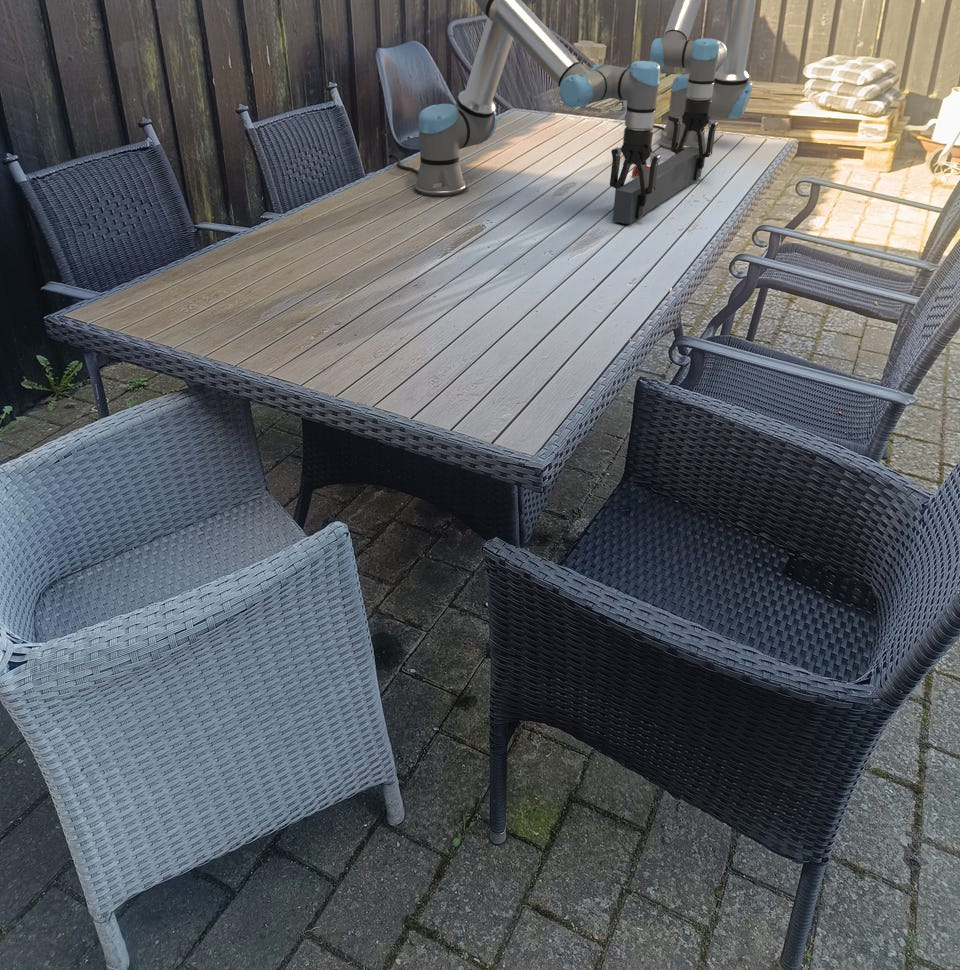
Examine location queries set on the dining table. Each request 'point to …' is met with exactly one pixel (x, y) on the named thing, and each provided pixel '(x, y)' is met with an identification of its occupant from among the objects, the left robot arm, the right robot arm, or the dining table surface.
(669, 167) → the post
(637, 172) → the red irregular lump
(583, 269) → the dining table surface
